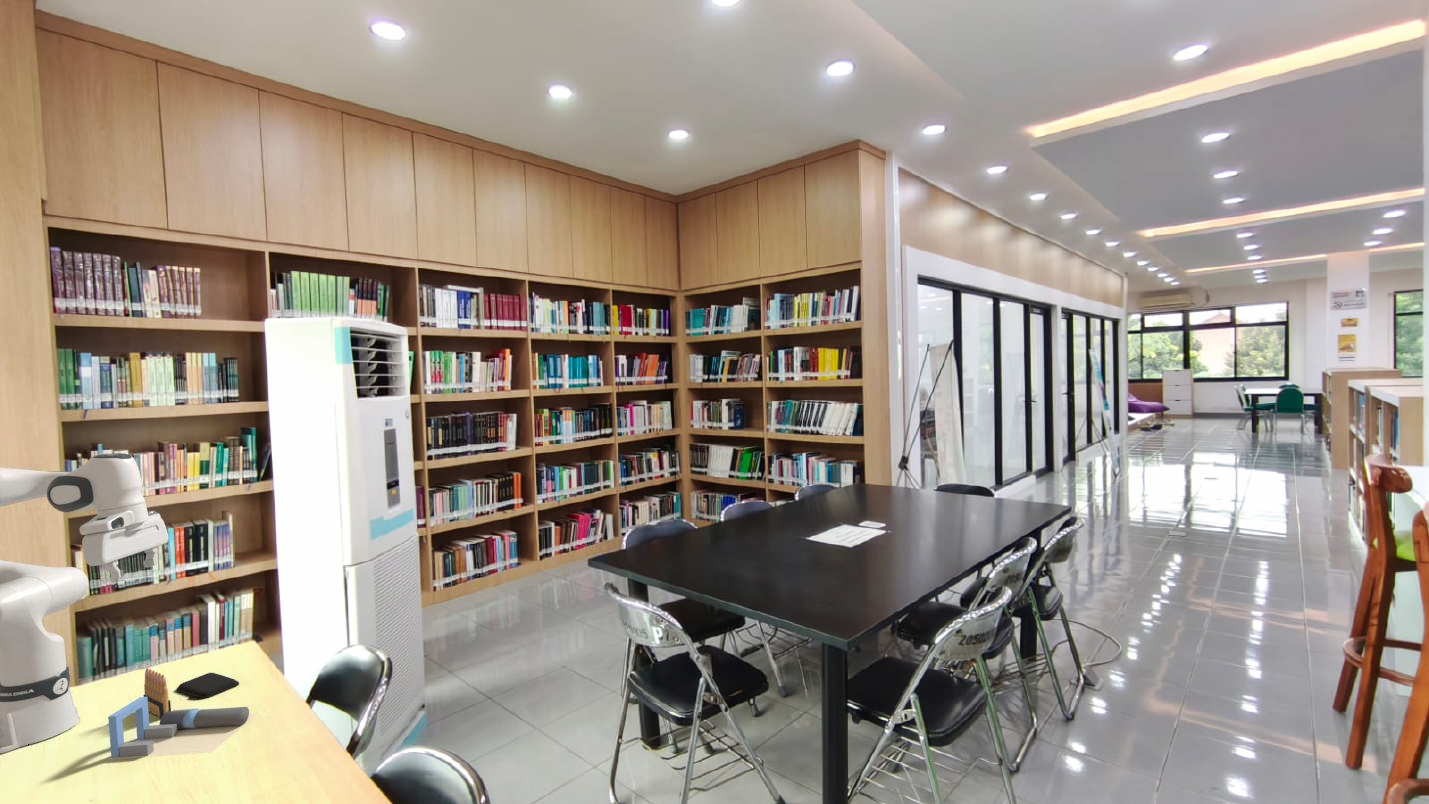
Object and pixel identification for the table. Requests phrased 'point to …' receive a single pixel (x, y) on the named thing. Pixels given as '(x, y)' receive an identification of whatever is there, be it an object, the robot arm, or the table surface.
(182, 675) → the table surface
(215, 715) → the gray banded cylinder
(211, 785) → the table surface
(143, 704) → the blue arch frame
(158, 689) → the ammunition clip
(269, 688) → the table surface
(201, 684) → the carrying case or bag
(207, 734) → the beige base board
